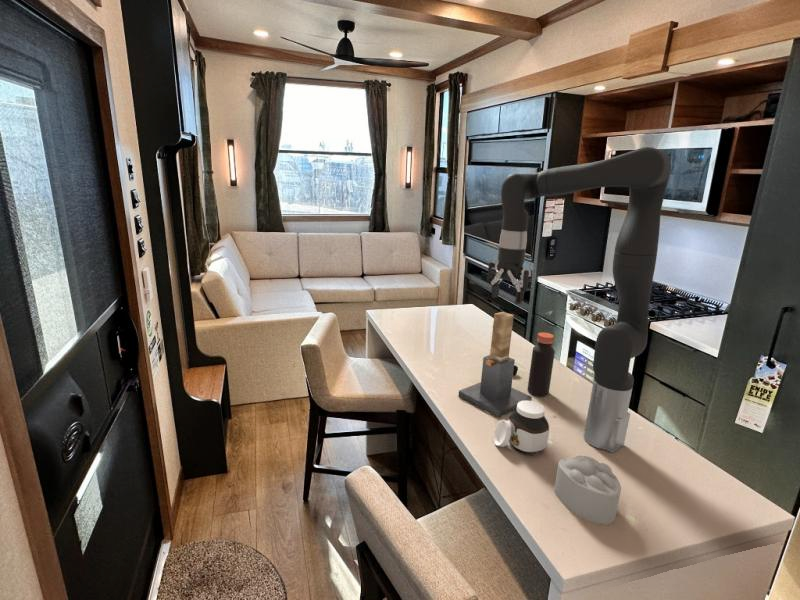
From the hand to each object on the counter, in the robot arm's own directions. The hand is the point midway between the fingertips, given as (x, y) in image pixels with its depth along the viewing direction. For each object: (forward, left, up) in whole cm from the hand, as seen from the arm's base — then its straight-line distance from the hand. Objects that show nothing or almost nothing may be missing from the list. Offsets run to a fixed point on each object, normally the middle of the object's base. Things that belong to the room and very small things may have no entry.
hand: (506, 300), depth 133 cm
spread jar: (-20, +16, -33) cm, 42 cm away
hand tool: (+16, -22, -33) cm, 43 cm away
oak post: (0, +1, -24) cm, 24 cm away
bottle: (-5, -15, -32) cm, 36 cm away
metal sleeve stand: (0, +1, -32) cm, 32 cm away
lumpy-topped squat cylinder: (-42, +21, -33) cm, 57 cm away
